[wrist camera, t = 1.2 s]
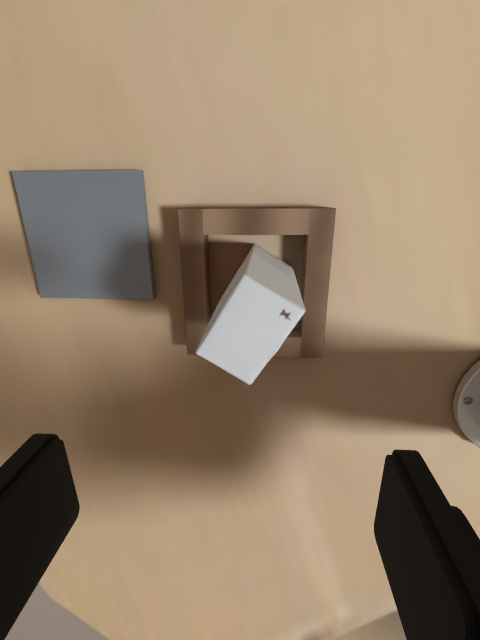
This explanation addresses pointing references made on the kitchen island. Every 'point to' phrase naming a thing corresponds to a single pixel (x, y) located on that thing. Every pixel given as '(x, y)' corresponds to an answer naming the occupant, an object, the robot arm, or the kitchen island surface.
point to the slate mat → (87, 233)
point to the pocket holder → (259, 222)
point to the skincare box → (253, 316)
